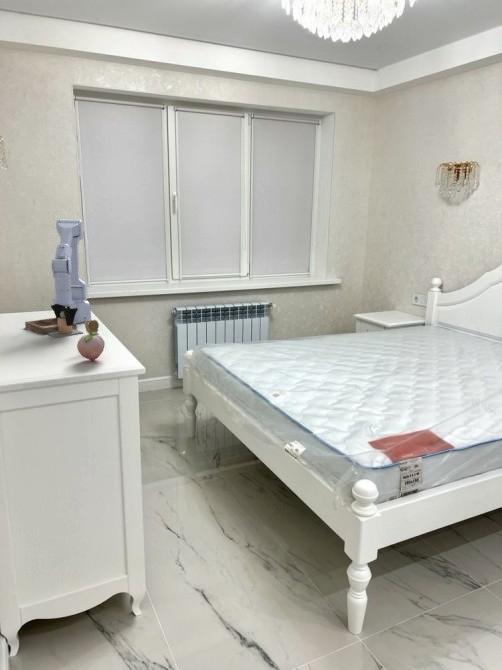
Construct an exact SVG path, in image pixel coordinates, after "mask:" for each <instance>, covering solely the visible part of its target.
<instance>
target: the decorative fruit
mask: <svg viewBox="0 0 502 670" xmlns="http://www.w3.org/2000/svg"><path fill="white" fill-rule="evenodd" d="M105 345H106V343H105V340H104V338H103V337H102V336H101V335H100V334H99V333H98V332H97V333H96V332H91V331H90V334H89V333H88V334H87V333H86V334H84V335H82V336H81V337H80V338H79V340H78V341H77V344H76V347H77V351H78V353H79V355H80V356H82V357H83V358H85V359H87V360H89V361H91V362H92V361H95V360H97V359H98V358H99V357H100V356H101V355H102V354H103V352H104V350H105V349H104V348H105Z"/></svg>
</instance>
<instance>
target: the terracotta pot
mask: <svg viewBox="0 0 502 670" xmlns="http://www.w3.org/2000/svg"><path fill="white" fill-rule="evenodd" d="M60 316H61V317H59V318H58V324H57V326H58V332H59V334H71V333H73V332H72V326H67V324H66V318H65V315H64V312H63V311H62V312H61V313H60Z"/></svg>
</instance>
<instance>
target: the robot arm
mask: <svg viewBox="0 0 502 670" xmlns="http://www.w3.org/2000/svg"><path fill="white" fill-rule="evenodd" d="M55 226H56V233H58V236H59V237H60V244H58V245H57V247H56V250H55V256H54V259H52V260H51V271H52V276H53V277H52V278H53V279H54V290H55V291H54V292H55V298H52V304H51V305H50V308H51V309H52V310H53V313H54V316H55V318H56V319H57V322H58V318H59V317H61V316H60V313H61V312H62V311H63V312H64V315H65V318H66V324H67V326H72V325H73V323H76V324H79V323H84V320H87V321H88V322H90V321H91V320H92V308H91V304H90V302H89V301H88V288H87V287H88V286H87V283H86V282H85V281H83V280H82V279H81V278H80V258H79V257H80V256H79V255H80V254H79V251H80V250H79V244H80V241H81V240H83V239H84V224H83V221H82V219H63V218H58V219H57V220H56V225H55ZM83 317H86V319H85V318H83Z"/></svg>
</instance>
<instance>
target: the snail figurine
mask: <svg viewBox="0 0 502 670" xmlns="http://www.w3.org/2000/svg"><path fill="white" fill-rule="evenodd" d="M83 318H85V319H86V317H83ZM83 323H84V326H85V327H84V328H85V331H86V333H88V334H90V331H91V332H96V333H98V332H99V326H100V325H99V322H98V320H96V319H91V321H87V320H84V322H83Z"/></svg>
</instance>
